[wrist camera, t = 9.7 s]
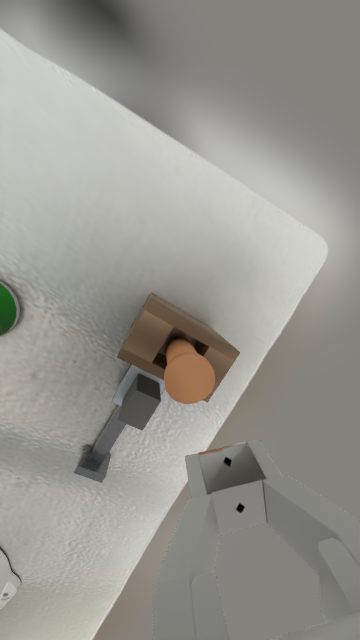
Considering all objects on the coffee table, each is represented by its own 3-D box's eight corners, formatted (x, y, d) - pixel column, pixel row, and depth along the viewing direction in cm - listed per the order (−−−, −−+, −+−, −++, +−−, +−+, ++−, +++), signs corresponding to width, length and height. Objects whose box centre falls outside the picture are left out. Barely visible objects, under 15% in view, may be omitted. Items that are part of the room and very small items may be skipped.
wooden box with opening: (190, 363, 31) (207, 402, 21) (129, 330, 29) (117, 357, 19) (212, 328, 30) (240, 352, 20) (151, 292, 28) (150, 300, 18)
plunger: (185, 373, 21) (198, 411, 15) (154, 357, 21) (155, 390, 14) (203, 343, 21) (224, 370, 15) (173, 326, 20) (181, 347, 14)
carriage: (147, 402, 31) (145, 441, 23) (116, 388, 30) (104, 423, 22) (168, 368, 30) (173, 397, 23) (137, 352, 29) (132, 377, 22)
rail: (107, 460, 32) (101, 482, 29) (82, 451, 31) (73, 472, 28) (171, 355, 30) (174, 365, 27) (147, 342, 29) (146, 351, 26)
